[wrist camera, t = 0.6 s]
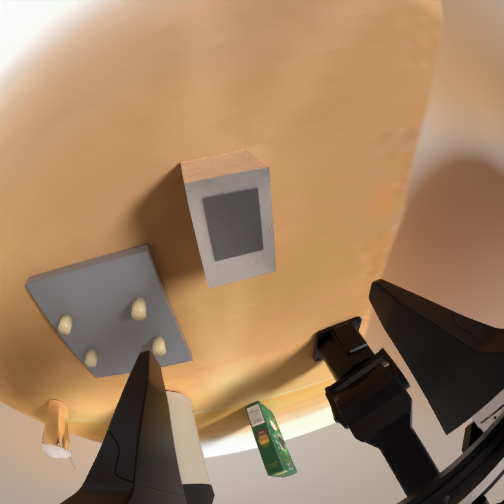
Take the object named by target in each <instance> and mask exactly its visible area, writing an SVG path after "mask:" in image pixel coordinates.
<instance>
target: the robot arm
mask: <svg viewBox="0 0 504 504" xmlns="http://www.w3.org/2000/svg"><path fill="white" fill-rule="evenodd" d="M369 300H370V302H371V304H372V306H373V308H374V310H375V312H376V314H377V316H378V317H379V320H380V321H381V323H382V325H383V327H384V329H385V331H386V332H387V334H388V335H389V337H390V338H391V340H392V342H393V343H394V345H395V346H396V348H397V349H398V351H399V353H400V354H401V356H402V358H403V359H404V361H405V362H406V364H407V366H408V367H409V369H410V371H411V372H412V374H413V376H414V377H415V379H416V381H417V382H418V384H419V386H420V388H421V389H422V391H423V393H424V394H425V396H426V398H427V400H428V402H429V404H430V406H431V407H432V409H433V411H434V413H435V415H436V417H437V419H438V420H439V422H440V424H441V426H442V428H443V430H444V432H445V433H446V435H448V434H449V433H451V432H452V431H453V430H455V429H456V428H458V427H459V426H460V425H462V424H463V423H464V422H466V421H467V420H468V419H470V418H471V417H472V419H473V421H472V422H471V423H470V424H469V425H468V426H467V427H466V428H465V434H464V440H463V446H462V452H463V454H462V455H461V456H460V457H459V458H457V459H456V460H455V461H454V462H453V463H452V464H451V465H449V466H448V467H447V468H446V469H445V470H444V471H442V472H441V473H440V472H439V470H438V468H437V467H436V465H435V463H434V462H433V460H432V459H431V457H430V455H429V453H428V452H427V450H426V448H425V447H424V445H423V443H422V442H421V440H420V439H419V437H418V436H417V434H416V432H415V431H414V429H413V428H412V399H411V397H410V395H409V394H408V392H407V391H406V389H408V388H409V387H410V385H409V383H408V382H407V379H406V378H405V377H404V375H403V374H402V372H401V371H400V369H399V368H398V367H397V365H396V364H395V363H394V361H393V360H392V359H391V358H390V356H389V355H388V354H387V353H386V351H385V350H384V349H383V348H382V349H381V350H380V351H379V352H378V353H376V354H374V353H373V352H372V350H371V349H370V348H369V346H368V345H367V343H366V341H365V340H364V338H363V337H362V335H361V334H360V333H359V328H360V324H361V321H362V319H361V318H360V317H356V318H354V319H351V320H349V321H346V322H344V323H341V324H339V325H336V326H333V327H331V328H328V329H325V330H323V331H320V332H319V333H318V334H317V337H316V344H315V351H314V358H313V359H314V361H315V362H317V361H320V360H322V359H324V361H325V363H326V365H327V366H328V368H329V370H330V371H331V373H332V375H333V377H334V378H335V380H336V382H335V383H334V384H332V385H331V386H328V387H326V388H325V391H326V393H325V395H326V397H327V399H328V401H329V403H330V406H331V409H332V413H333V417H334V420H335V422H337V423H340V424H341V425H343V426H344V428H346V429H349V428H350V430H351V432H352V434H353V435H354V437H355V438H356V439H358V440H360V441H361V442H366V443H368V444H370V445H372V446H374V447H377V448H379V449H380V450H381V452H382V454H383V456H384V457H385V459H386V461H387V462H388V464H389V466H390V468H391V469H392V471H393V473H394V474H395V476H396V478H397V480H398V481H399V483H400V485H401V487H402V488H403V490H404V492H405V494H406V495H407V498H405V499H404V500H402V501H400V502H399V503H397V504H489V502H488V500H487V498H486V497H485V496H484V495H485V494H486V493H487V492H488V491H489V490H490V489H491V488H492V486H494V485H495V483H496V482H497V481H498V480H499V479H500V478H501V477H502V475H503V474H504V329H499V328H494V327H492V326H489V325H486V324H483V323H481V322H478V321H475V320H473V319H470V318H467V317H465V316H463V315H461V314H458V313H456V312H454V311H452V310H449V309H447V308H445V307H443V306H441V305H439V304H436V303H434V302H432V301H430V300H428V299H425V298H423V297H421V296H419V295H416V294H414V293H412V292H410V291H407V290H405V289H403V288H401V287H398V286H396V285H394V284H391V283H389V282H387V281H385V280H382V279H378V280H376V281H374V282H372V284H371V289H370V293H369ZM387 364H388V366H386V367H384V366H385V365H387ZM108 429H109V430H107V433H106V435H105V438H104V440H103V443H102V445H101V448H100V450H99V452H98V455H97V457H96V459H95V461H94V463H93V465H92V467H91V469H90V471H89V473H88V475H87V477H86V480H85V482H84V483H83V485H82V487H81V488H80V489H79V490H78V491H77V492H76V493H75V494H74V495H72V496H71V497H69V498H68V499H66V500H65V501H63V502H62V503H60V504H187V502H186V498H185V496H184V495H185V494H184V490H183V485H182V481H181V476H180V471H179V466H178V461H177V456H176V450H175V445H174V439H173V432H172V426H171V418H170V411H169V404H168V399H167V395H166V390H165V386H164V382H163V377H162V372H161V368H160V364H159V362H158V361H157V359H156V358H155V356H154V355H153V353H152V352H151V351H150V350H148V351H143V352H140V353H139V355H138V357H137V360H136V362H135V364H134V366H133V369H132V371H131V373H130V376H129V378H128V380H127V383H126V385H125V387H124V390H123V392H122V395H121V397H120V400H119V402H118V404H117V407H116V409H115V412H114V415H113V417H112V420H111V422H110V425H109V427H108ZM497 504H504V500H503V501H502V502H501V503H497Z"/></svg>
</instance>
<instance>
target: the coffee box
mask: <svg viewBox="0 0 504 504" xmlns="http://www.w3.org/2000/svg"><path fill="white" fill-rule="evenodd" d="M245 409H246V412H247V415H248V419H249V421H250V425H251V428H252V431H253V434H254V437H255V440H256V443H257V446H258V448H259V451H260V454H261V457H262V460H263V463H264V466H265V469H266V471H267V474H268V476H276V477H287V476H289V475H293V474H295V473H297V470H296V468H295V466H294V464H293V461H292V459H291V456H290V454H289V452H288V449H287V447H286V445H285V442H284V440H283V437H282V435H281V432H280V430H279V427H278V425H277V422H276V420H275V417H274V415H273V413H272V412H271V411H270V410H268V409H267V408H266V407H265V406H264V405H263V404H261V403H260V402H259V401H258V402H255V403H253V404H250V405H247V406H245Z"/></svg>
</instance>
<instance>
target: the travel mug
mask: <svg viewBox="0 0 504 504" xmlns="http://www.w3.org/2000/svg"><path fill="white" fill-rule="evenodd" d="M166 395H167V399H168V404H169V411H170V418H171V426H172V432H173V439H174V445H175V450H176V456H177V461H178V466H179V471H180V476H181V481H182V485H183V490H184V494H185V495H184V496H185V498H186V502H187V504H212V502H213V499H214V492H213V489H212V486H211V482H210V478H209V475H208V472H207V468H206V464H205V460H204V456H203V452H202V448H201V444H200V440H199V436H198V431H197V427H196V422H195V417H194V413H193V408H192V403H191V400H190V398H188V397H187V396H185V395H183V394H181V393H177V392H172V391H166Z"/></svg>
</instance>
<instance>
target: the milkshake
mask: <svg viewBox="0 0 504 504" xmlns="http://www.w3.org/2000/svg"><path fill="white" fill-rule="evenodd" d="M42 448H43V450H44V451H45V452H46V453H47V454H48V455H50V456H52V457H53V458H61V459H63V458H68V457H69V458H70V460H71V463H72V465H73V467H74V464H73V462H72V459H71V457H70V456H71V450H70V441H69V425H68V406H67V405H66V404H65V403H63V402H61V401H57V400H50V401H49V406H48V411H47V417H46V423H45V429H44V433H43V439H42ZM74 468H75V467H74Z"/></svg>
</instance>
